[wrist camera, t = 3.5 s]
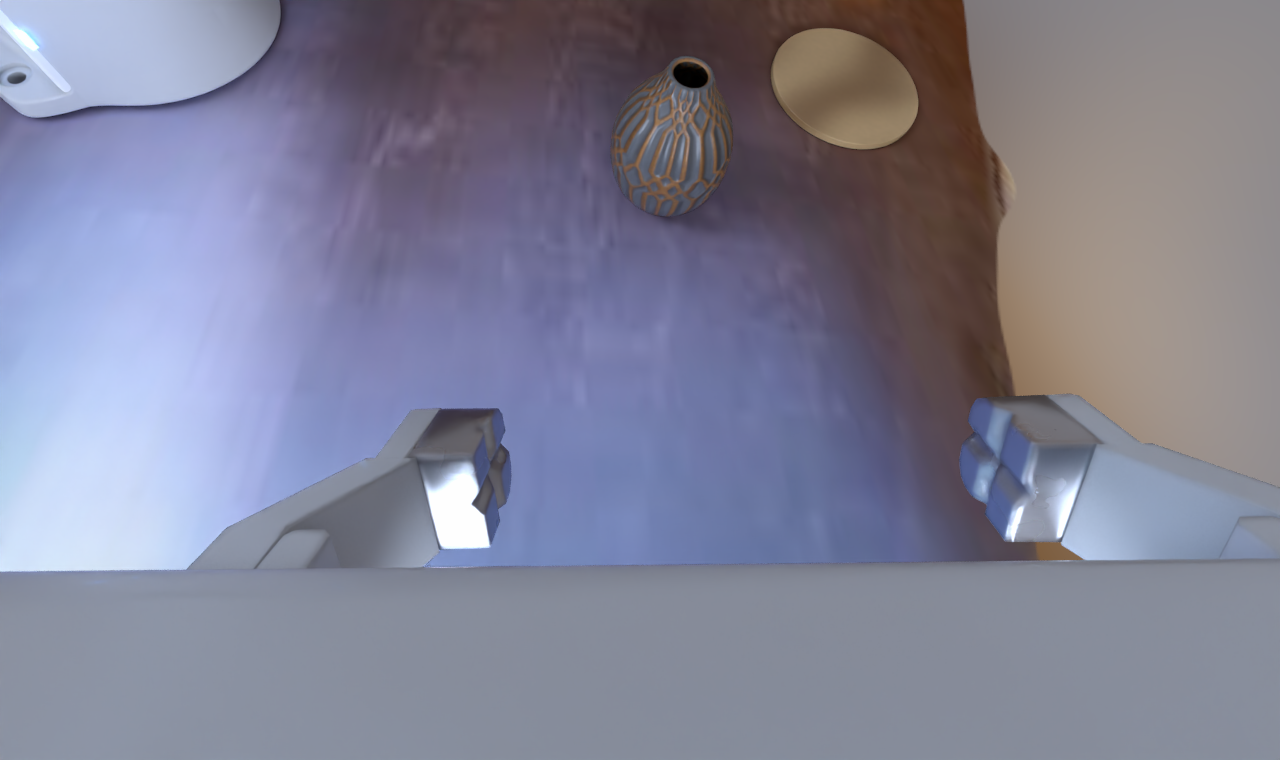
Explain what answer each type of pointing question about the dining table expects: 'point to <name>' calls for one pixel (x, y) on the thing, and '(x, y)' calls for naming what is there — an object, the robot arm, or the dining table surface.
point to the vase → (672, 139)
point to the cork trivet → (844, 88)
